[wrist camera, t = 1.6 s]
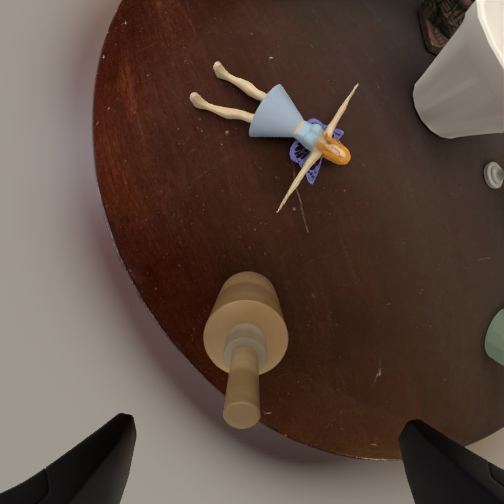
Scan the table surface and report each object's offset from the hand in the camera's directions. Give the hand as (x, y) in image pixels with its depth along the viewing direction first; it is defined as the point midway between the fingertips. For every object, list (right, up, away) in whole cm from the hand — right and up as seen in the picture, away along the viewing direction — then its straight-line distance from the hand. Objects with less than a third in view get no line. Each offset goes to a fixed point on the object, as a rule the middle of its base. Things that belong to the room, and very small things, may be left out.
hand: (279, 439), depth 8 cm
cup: (+16, +19, +13) cm, 28 cm away
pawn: (+23, +13, +14) cm, 30 cm away
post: (-1, +2, +15) cm, 15 cm away
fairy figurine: (+1, +15, +14) cm, 21 cm away
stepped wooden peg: (-1, +1, +7) cm, 7 cm away
